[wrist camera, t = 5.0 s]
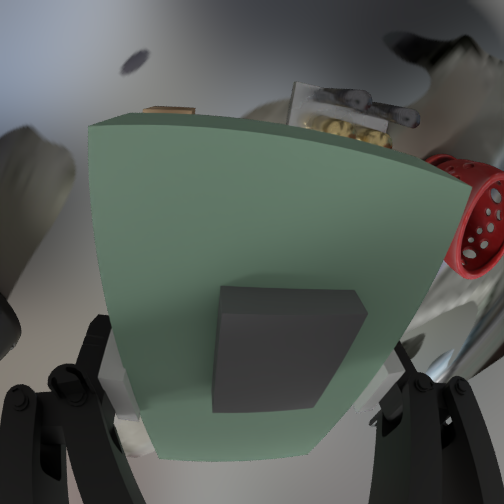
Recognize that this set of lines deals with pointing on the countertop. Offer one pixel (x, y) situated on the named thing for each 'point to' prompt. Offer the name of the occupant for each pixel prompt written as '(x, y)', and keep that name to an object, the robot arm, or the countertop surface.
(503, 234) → the plant pot
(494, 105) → the countertop surface
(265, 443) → the board
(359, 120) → the chassis
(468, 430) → the robot arm
